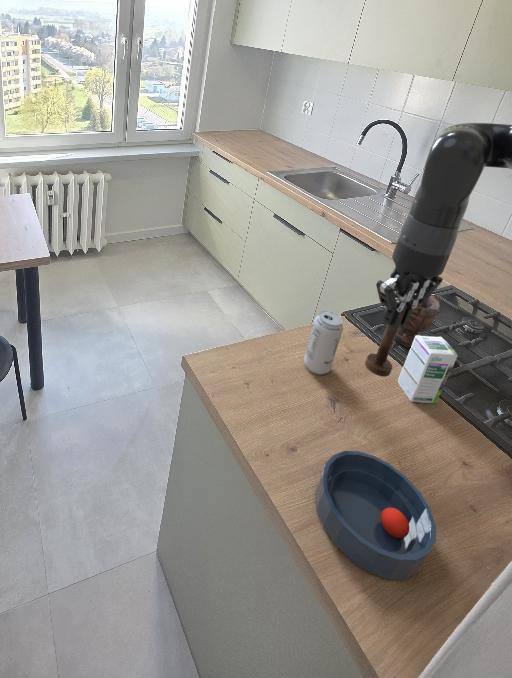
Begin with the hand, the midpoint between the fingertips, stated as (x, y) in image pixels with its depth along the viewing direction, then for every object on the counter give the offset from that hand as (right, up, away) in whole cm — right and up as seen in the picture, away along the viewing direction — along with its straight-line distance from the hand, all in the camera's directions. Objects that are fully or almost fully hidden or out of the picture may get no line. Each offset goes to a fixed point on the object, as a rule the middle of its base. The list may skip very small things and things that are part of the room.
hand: (394, 322), depth 77 cm
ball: (-6, -30, -9) cm, 32 cm away
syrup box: (+17, -22, +19) cm, 33 cm away
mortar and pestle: (+24, -16, +34) cm, 44 cm away
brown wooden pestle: (0, -10, +5) cm, 11 cm away
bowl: (-9, -32, -6) cm, 34 cm away
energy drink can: (-4, -19, +25) cm, 31 cm away
